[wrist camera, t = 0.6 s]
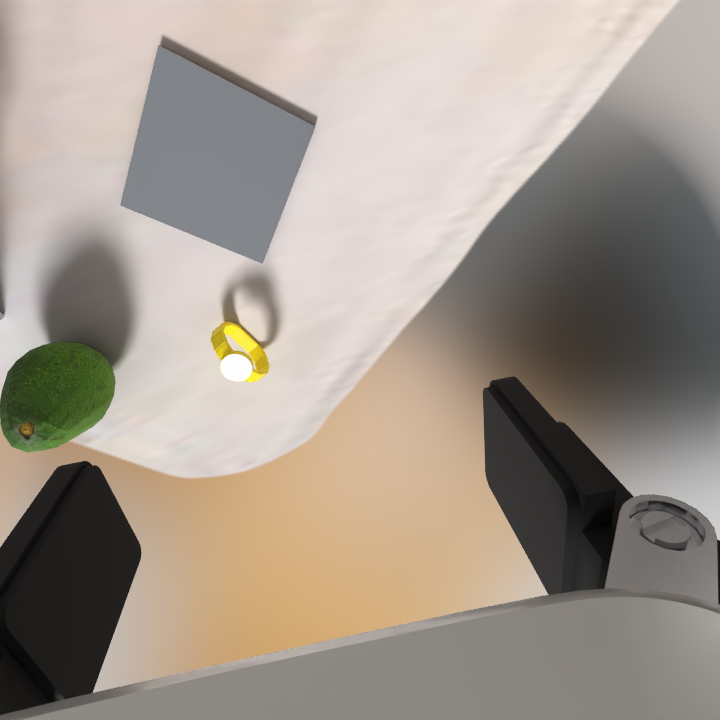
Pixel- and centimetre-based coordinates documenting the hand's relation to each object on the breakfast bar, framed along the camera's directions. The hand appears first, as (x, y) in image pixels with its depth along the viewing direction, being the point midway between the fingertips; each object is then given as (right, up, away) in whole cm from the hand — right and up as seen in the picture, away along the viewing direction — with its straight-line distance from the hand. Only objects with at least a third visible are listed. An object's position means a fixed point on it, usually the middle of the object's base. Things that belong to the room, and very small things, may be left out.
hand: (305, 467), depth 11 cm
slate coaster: (-10, +18, +26) cm, 33 cm away
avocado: (-25, +3, +33) cm, 42 cm away
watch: (-10, +5, +34) cm, 35 cm away
